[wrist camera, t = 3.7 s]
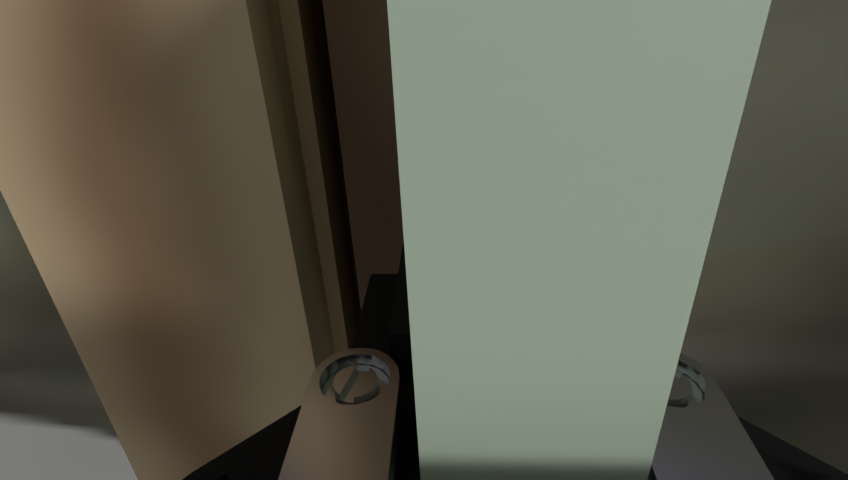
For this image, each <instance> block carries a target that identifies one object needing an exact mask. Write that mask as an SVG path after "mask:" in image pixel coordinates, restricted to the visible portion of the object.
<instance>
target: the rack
mask: <svg viewBox="0 0 848 480" xmlns="http://www.w3.org/2000/svg"><path fill="white" fill-rule="evenodd" d="M0 191H1V193H2V195H3V197H4V199H5V201H6V203H7V205H8V208H9V210H10V212H11V214H12V216H13V218H14V220H15V222H16V224H17V226H18V229H19V231H20V233H21V235H22V237H23V239H24V241H25V243H26V245H27V247H28V249H29V252H30V254H31V256H32V258H33V260H34V262H35V264H36V266H37V268H38V270H39V273H40V275H41V277H42V279H43V281H44V283H45V285H46V287H47V289H48V291H49V293H50V296H51V298H52V300H53V302H54V304H55V306H56V308H57V310H58V312H59V314H60V317H61V319H62V321H63V323H64V325H65V327H66V329H67V331H68V333H69V335H70V337H71V340H72V342H73V344H74V346H75V348H76V350H77V352H78V354H79V356H80V358H81V361H82V363H83V365H84V367H85V369H86V371H87V373H88V375H89V377H90V379H91V381H92V384H93V386H94V388H95V390H96V392H97V394H98V396H99V398H100V400H101V402H102V405H103V407H104V409H105V411H106V413H107V415H108V417H109V419H110V421H111V423H112V425H113V428H114V430H115V432H116V434H117V436H118V438H119V440H120V442H121V444H122V446H123V449H124V451H125V453H126V455H127V457H128V459H129V461H130V463H131V465H132V467H133V469H134V472H135V474H136V476H137V478H138V480H182V479H184V478H185V477H186V476H188V475H189V474H190V473H192V472H193V471H195V470H197V469H198V468H200V467H201V466H203V465H205V464H206V463H208V462H210V461H211V460H213V459H214V458H216V457H218V456H219V455H221V454H223V453H224V452H226V451H227V450H229V449H231V448H232V447H234V446H236V445H237V444H239V443H240V442H242V441H244V440H245V439H247V438H249V437H250V436H252V435H254V434H255V433H257V432H258V431H260V430H262V429H263V428H265V427H267V426H268V425H270V424H271V423H273V422H275V421H276V420H278V419H280V418H281V417H283V416H284V415H286V414H288V413H289V412H291V411H293V410H294V409H296V408H297V407H299V406H301V405H302V403H303V400H304V397H305V394H306V390H307V387H308V384H309V381H310V378H311V376H312V374H313V372H314V370H315V369H316V367H317V366H318V365H319V364H320V363H321V362H322V361H324V360H325V359H326V358H328V357H330V356H332V355H333V354H335V353H338V352H341V351H344V350H347V349H352V347H353V343H354V339H355V335H356V331H357V327H358V323H359V319H360V315H361V311H362V307H363V303H364V299H365V295H366V291H367V287H368V283H369V279H370V276H371V274H398V271H399V265H400V259H401V253H402V247H403V241H404V237H403V223H402V208H401V194H400V180H399V166H398V151H397V137H396V123H395V109H394V95H393V80H392V66H391V52H390V38H389V23H388V9H387V0H0Z"/></svg>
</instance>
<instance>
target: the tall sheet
mask: <svg viewBox="0 0 848 480" xmlns="http://www.w3.org/2000/svg"><path fill="white" fill-rule="evenodd" d="M770 4H771V0H387V9H388V23H389V38H390V52H391V66H392V80H393V95H394V109H395V123H396V137H397V151H398V166H399V180H400V194H401V208H402V223H403V237H404V251H405V265H406V280H407V294H408V308H409V322H410V337H411V351H412V365H413V379H414V394H415V408H416V422H417V436H418V451H419V465H420V479H421V480H648V476H649V472H650V468H651V464H652V461H653V457H654V453H655V449H656V445H657V441H658V437H659V433H660V430H661V426H662V422H663V418H664V414H665V410H666V406H667V403H668V399H669V395H670V391H671V387H672V383H673V379H674V375H675V372H676V368H677V364H678V360H679V356H680V352H681V348H682V345H683V341H684V337H685V333H686V329H687V325H688V321H689V317H690V314H691V310H692V306H693V302H694V298H695V294H696V290H697V287H698V283H699V279H700V275H701V271H702V267H703V263H704V260H705V256H706V252H707V248H708V244H709V240H710V236H711V232H712V229H713V225H714V221H715V217H716V213H717V209H718V205H719V202H720V198H721V194H722V190H723V186H724V182H725V178H726V174H727V171H728V167H729V163H730V159H731V155H732V151H733V147H734V144H735V140H736V136H737V132H738V128H739V124H740V120H741V116H742V113H743V109H744V105H745V101H746V97H747V93H748V89H749V86H750V82H751V78H752V74H753V70H754V66H755V62H756V58H757V55H758V51H759V47H760V43H761V39H762V35H763V31H764V28H765V24H766V20H767V16H768V12H769V8H770Z"/></svg>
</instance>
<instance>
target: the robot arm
mask: <svg viewBox="0 0 848 480" xmlns="http://www.w3.org/2000/svg"><path fill="white" fill-rule="evenodd" d="M182 480H421V479H420V465H419V451H418V436H417V422H416V408H415V394H414V379H413V365H412V351H411V337H410V322H409V308H408V294H407V280H406V265H405V251H404V241H403V247H402V253H401V259H400V265H399V271H398V274H371V276H370V279H369V283H368V287H367V291H366V295H365V299H364V303H363V307H362V311H361V315H360V319H359V323H358V327H357V331H356V335H355V339H354V343H353V347H352V349H347V350H344V351H341V352H338V353H335V354H333V355H332V356H330V357H328V358H326V359H325V360H324V361H322V362H321V363H320V364H319V365H318V366H317V367H316V369H315V370H314V372H313V374H312V376H311V378H310V381H309V384H308V387H307V390H306V394H305V397H304V400H303V403H302V405H301V406H299V407H297V408H296V409H294V410H293V411H291V412H289V413H288V414H286V415H284V416H283V417H281V418H280V419H278V420H276V421H275V422H273V423H271V424H270V425H268V426H267V427H265V428H263V429H262V430H260V431H258V432H257V433H255V434H254V435H252V436H250V437H249V438H247V439H245V440H244V441H242V442H240V443H239V444H237V445H236V446H234V447H232V448H231V449H229V450H227V451H226V452H224V453H223V454H221V455H219V456H218V457H216V458H214V459H213V460H211V461H210V462H208V463H206V464H205V465H203V466H201V467H200V468H198V469H197V470H195V471H193V472H192V473H190V474H189V475H188V476H186V477H185V478H184V479H182ZM648 480H848V475H847V474H845V473H843V472H842V471H840V470H838V469H836V468H834V467H832V466H830V465H828V464H826V463H825V462H823V461H821V460H819V459H817V458H815V457H813V456H811V455H809V454H807V453H806V452H804V451H802V450H800V449H798V448H796V447H794V446H792V445H790V444H789V443H787V442H785V441H783V440H781V439H779V438H777V437H775V436H773V435H772V434H770V433H768V432H766V431H764V430H762V429H760V428H758V427H756V426H755V425H753V424H751V423H749V422H747V421H745V420H743V419H741V418H739V417H737V415H736V414H735V412H734V410H733V409H732V407H731V405H730V403H729V402H728V400H727V398H726V397H725V395H724V393H723V392H722V390H721V388H720V386H719V385H718V383H717V381H716V380H715V378H714V377H713V376H712V375H711V374H710V372H709V371H708V370H707V369H706V368H705V367H703V366H702V365H701V364H699V363H698V362H697V361H695V360H693V359H691V358H689V357H687V356H685V355H683V354H681V353H680V356H679V360H678V364H677V368H676V372H675V375H674V379H673V383H672V387H671V391H670V395H669V399H668V403H667V406H666V410H665V414H664V418H663V422H662V426H661V430H660V433H659V437H658V441H657V445H656V449H655V453H654V457H653V461H652V464H651V468H650V472H649V476H648Z"/></svg>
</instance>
